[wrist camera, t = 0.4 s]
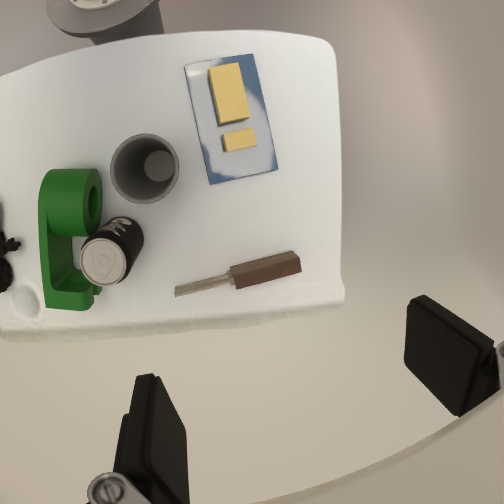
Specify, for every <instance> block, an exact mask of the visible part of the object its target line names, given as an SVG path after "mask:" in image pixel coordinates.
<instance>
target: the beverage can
mask: <svg viewBox="0 0 504 504" xmlns="http://www.w3.org/2000/svg"><path fill="white" fill-rule="evenodd" d="M143 242H144V237H143V232H142V230H141V228H140V226H139V225H138V224H137V223H136V222H135V221H134V220H132V219H130V218H127V217H116V218H113V219H111V220H110V221H108V222H107V223H106V224H104V225H103V226H102V227H101V228H99V229H98V230H97V231H96V232H94V233H93V234H92V235H91V236H90V237H88V238H87V239H86V241H85V242H84V244H83V246H82V249H81V254H80V267H81V270H82V272H83V274H84V275H85V277H86V278H87V279H88V280H89V281H90V282H92V283H93V284H95V285H98V286H102V287H108V286H112V285H115V284H117V283H119V282H121V281H123V280H124V279H125V278H126V277H127V275H128V274H129V272H130V270H131V268H132V266H133V264H134V262H135V260H136V259H137V257H138V255H139V253H140V251H141V249H142V247H143Z"/></svg>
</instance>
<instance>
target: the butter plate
mask: <svg viewBox="0 0 504 504" xmlns="http://www.w3.org/2000/svg"><path fill="white" fill-rule="evenodd" d="M232 63H239V67H240V72H241V76H242V80H243V85H244V89H245V94H246V98H247V103H248V107H249V112H250V116H251V117H249V118H248V119H247V120H242V121H237V122H232V123H227V124H222V125H219V122H218V118H217V113H216V109H215V104H214V99H213V95H212V90H211V86H210V81H209V77H208V70H209V67H214V66H220V65H226V64H232ZM184 68H185V73H186V78H187V82H188V87H189V92H190V97H191V101H192V106H193V110H194V115H195V120H196V124H197V129H198V133H199V138H200V142H201V147H202V151H203V155H204V160H205V164H206V169H207V173H208V177H209V182H210V184H215V183H220V182H224V181H228V180H232V179H237V178H241V177H245V176H250V175H254V174H259V173H264V172H268V171H273V170H278V165H277V160H276V155H275V150H274V145H273V140H272V136H271V131H270V126H269V122H268V117H267V112H266V108H265V103H264V99H263V94H262V90H261V86H260V81H259V77H258V73H257V68H256V64H255V60H254V56H253V54H245V55H238V56H232V57H226V58H220V59H214V60H209V61H203V62H198V63H194V64H189V65H185V66H184ZM248 128H253V130H254V134H255V139H256V144H257V146H253V147H248V148H243V149H238V150H234V151H229V152H225V149H224V145H223V140H222V135H223V134H224V133H228V132H233V131H238V130H243V129H248Z"/></svg>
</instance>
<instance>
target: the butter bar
mask: <svg viewBox="0 0 504 504" xmlns="http://www.w3.org/2000/svg"><path fill="white" fill-rule="evenodd" d="M208 77H209V81H210V86H211V90H212V95H213V99H214V104H215V109H216V113H217V118H218V122H219V125H222V124H227V123H232V122H237V121H242V120H247V119H248V118H249V117H251V116H250V112H249V107H248V103H247V98H246V94H245V89H244V85H243V80H242V76H241V72H240V67H239V63H232V64H226V65H220V66H214V67H209V70H208Z"/></svg>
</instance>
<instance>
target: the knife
mask: <svg viewBox="0 0 504 504" xmlns="http://www.w3.org/2000/svg"><path fill="white" fill-rule="evenodd" d="M230 268H231V271H227V273H228V274H225V275H222V276H218V277H214V278H210V279H206V280H202V281H198V282H195V283H191V284H187V285H183V286H179V287H175V297H177V296H181V295H185V294H189V293H193V292H197V291H201V290H205V289H209V288H213V287H216V286H220V285H224V284H228V283H231V286H232V285H235V286H236V289H241V288H245V287H248V286H252V285H256V284H260V283H263V282H267V281H271V280H274V279H278V278H281V277H285V276H289V275H292V274H296V273H299V272H302V270H301V264H300V258H299V257H298V256H297V255H296V254H295V253H294V252H293V251H289V252H285V253H282V254H278V255H274V256H270V257H266V258H263V259H259V260H255V261H251V262H247V263H244V264H240V265H236V266H232V267H230Z"/></svg>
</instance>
